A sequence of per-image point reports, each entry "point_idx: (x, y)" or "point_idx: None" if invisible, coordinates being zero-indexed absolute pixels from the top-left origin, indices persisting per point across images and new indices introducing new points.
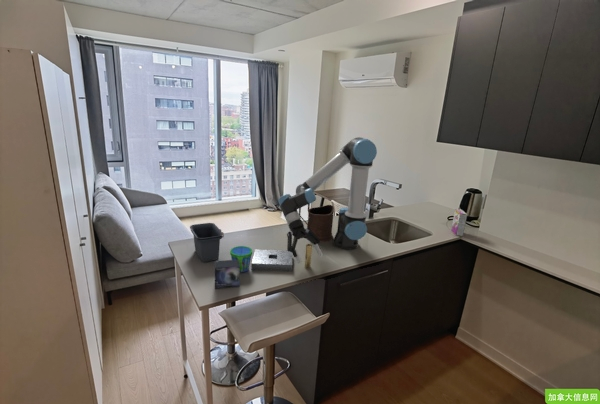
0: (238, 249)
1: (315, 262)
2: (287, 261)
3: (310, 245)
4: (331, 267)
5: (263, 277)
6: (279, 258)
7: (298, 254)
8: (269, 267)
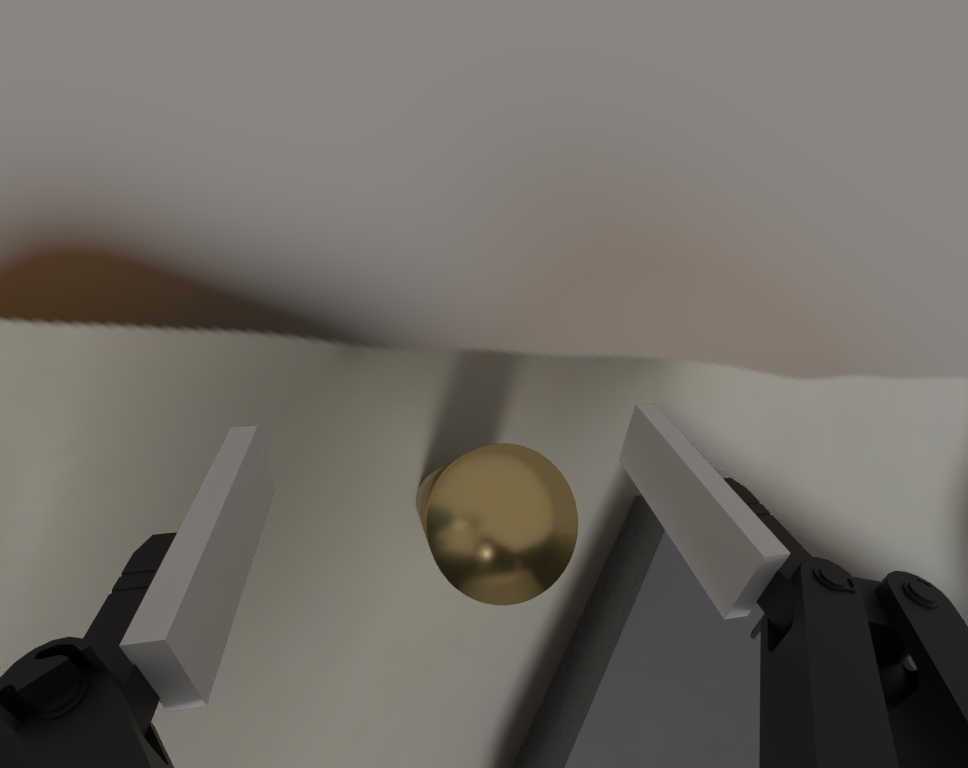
0: None
1: (290, 558)
2: (696, 605)
3: (470, 508)
4: (209, 368)
5: (888, 513)
6: (759, 733)
7: (704, 474)
8: None
